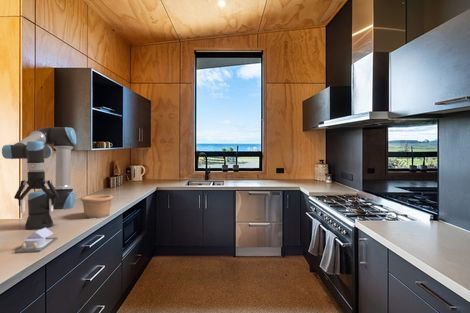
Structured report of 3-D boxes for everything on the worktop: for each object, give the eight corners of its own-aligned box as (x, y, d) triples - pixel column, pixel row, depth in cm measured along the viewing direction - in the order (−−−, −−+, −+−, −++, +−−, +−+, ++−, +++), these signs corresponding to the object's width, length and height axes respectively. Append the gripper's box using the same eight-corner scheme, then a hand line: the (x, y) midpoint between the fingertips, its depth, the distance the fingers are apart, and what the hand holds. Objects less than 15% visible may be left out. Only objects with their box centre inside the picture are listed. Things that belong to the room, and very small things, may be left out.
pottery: (75, 219, 216) (75, 199, 215) (89, 212, 238) (88, 194, 237) (106, 219, 216) (106, 199, 216) (117, 212, 238) (117, 194, 238)
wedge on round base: (37, 239, 166) (20, 247, 153) (37, 227, 166) (20, 234, 153) (54, 239, 166) (38, 247, 153) (53, 227, 166) (38, 234, 153)
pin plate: (36, 240, 169) (35, 232, 169) (57, 239, 171) (57, 232, 170) (15, 253, 148) (15, 245, 148) (39, 251, 150) (39, 243, 150)
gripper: (5, 171, 152) (6, 214, 153) (59, 171, 156) (60, 212, 157) (13, 170, 160) (14, 210, 161) (64, 170, 164) (65, 209, 165)
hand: (37, 211), depth 159 cm, fingers open, 13 cm apart
